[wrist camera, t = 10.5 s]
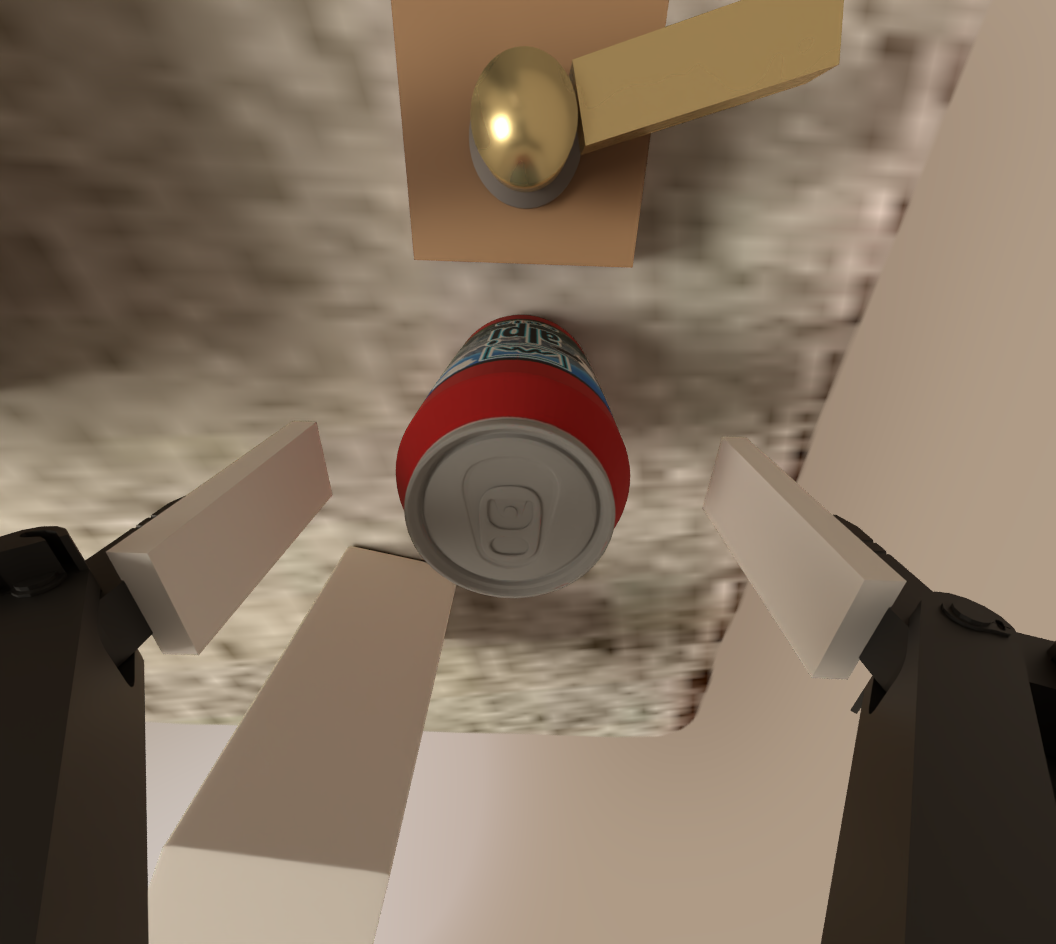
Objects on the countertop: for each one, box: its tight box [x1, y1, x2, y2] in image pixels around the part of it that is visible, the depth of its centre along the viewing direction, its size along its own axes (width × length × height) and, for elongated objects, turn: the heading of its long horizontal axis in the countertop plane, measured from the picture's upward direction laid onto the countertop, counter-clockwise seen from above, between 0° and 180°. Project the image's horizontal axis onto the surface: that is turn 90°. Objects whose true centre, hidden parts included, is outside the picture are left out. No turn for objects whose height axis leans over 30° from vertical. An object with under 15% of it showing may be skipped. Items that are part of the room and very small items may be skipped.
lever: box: [470, 0, 844, 192], centre depth 11 cm, size 9×3×2 cm, turn 105°
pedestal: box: [391, 0, 669, 267], centre depth 15 cm, size 7×8×4 cm
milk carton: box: [148, 546, 456, 944], centre depth 20 cm, size 7×7×19 cm
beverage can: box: [396, 315, 630, 598], centre depth 16 cm, size 7×7×12 cm
